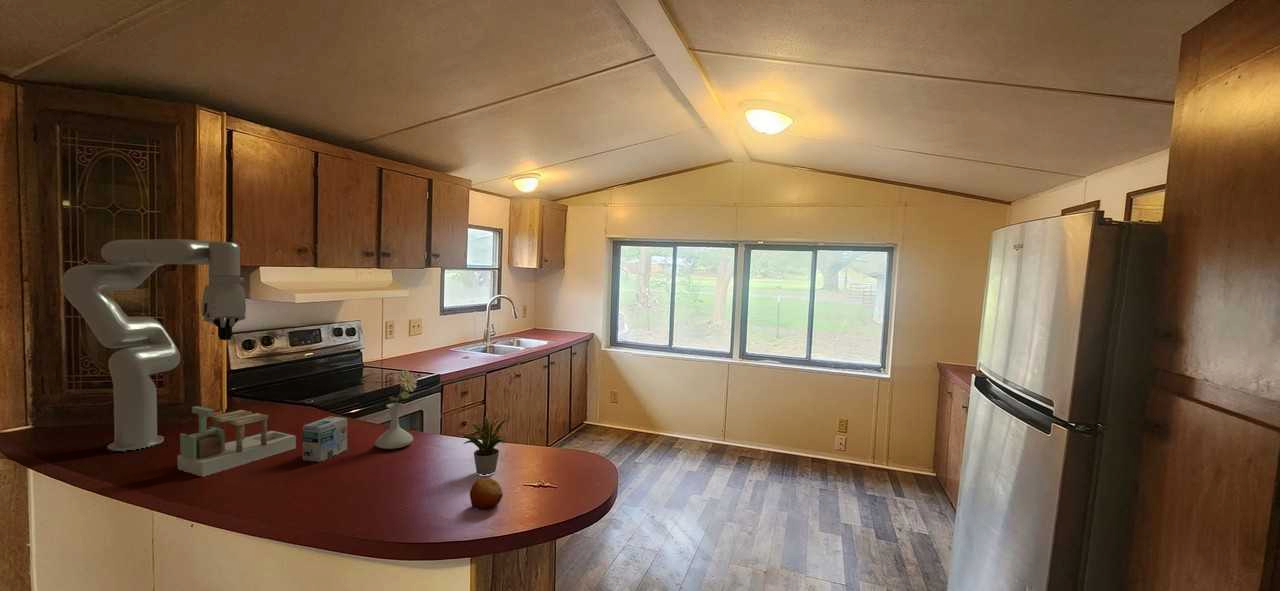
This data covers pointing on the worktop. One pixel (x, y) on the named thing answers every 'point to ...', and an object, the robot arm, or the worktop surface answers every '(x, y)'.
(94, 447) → the worktop surface
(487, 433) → the house plant
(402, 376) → the flower in vase
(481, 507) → the fruit
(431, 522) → the worktop surface
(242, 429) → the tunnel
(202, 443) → the block
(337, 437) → the light bulb box
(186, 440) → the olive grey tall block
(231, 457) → the white rectangular tray
